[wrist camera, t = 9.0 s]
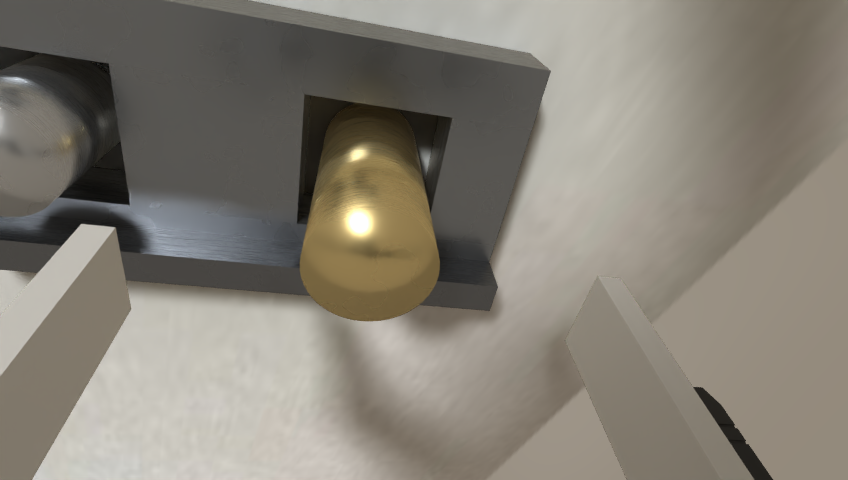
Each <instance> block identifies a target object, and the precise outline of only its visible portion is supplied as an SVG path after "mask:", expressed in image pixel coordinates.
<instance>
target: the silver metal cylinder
mask: <svg viewBox="0 0 848 480" xmlns="http://www.w3.org/2000/svg"><path fill="white" fill-rule="evenodd" d="M119 142H120V134H119V128H118V121H117V114H116V108H115V101H114V95H113V88H112V82H111V76H110V75H109V74H108V73H107V72H106V71H104V70H103V69H102V68H100V67H99V66H98V65H96V64H95V63H93V62H91V61H89V60H84V59H77V58H71V57H65V56H58V55H52V54H46V53H41V54H38V55H36V56H33V57H31V58H28V59H26V60H24V61H21V62H19V63H16V64H14V65H12V66H9V67H7V68H4V69H2V70H0V216H3V217H22V216H28V215H32V214H35V213H38V212H40V211H42V210H43V209H45V208H46V207H48V206H49V205H50V204H51V203H52V202H53V201H54V200H56V199H57V198H58V197H59V196H60V195H61V194H62V193H63V192H64V191H66V190H67V189H68V188H69V187H70V186H71V185H72V184H73V183H74V182H76V181H77V180H78V179H79V178H80V177H81V176H82V175H83V174H84V173H85V172H87V171H88V170H89V169H90V168H91V167H92V166H93V165H94V164H95V163H97V162H98V161H99V160H100V159H101V158H102V157H103V156H104V155H105V154H107V153H108V152H109V151H110V150H111V149H112V148H113V147H114V146H115V145H117V144H118V143H119Z"/></svg>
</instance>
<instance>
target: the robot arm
mask: <svg viewBox="0 0 848 480" xmlns="http://www.w3.org/2000/svg"><path fill="white" fill-rule="evenodd" d="M130 310H131V305H130V300H129V295H128V289H127V284H126V279H125V274H124V269H123V263H122V258H121V253H120V248H119V243H118V237H117V232H116V227H107V226H97V225H87V224H81V225H80V226H79V227H78V228H77V229H76V231H75V232H74V233H73V234H72V235H71V236H70V237H69V238H68V240H67V241H66V242H65V243H64V244H63V245H62V246H61V248H60V249H59V250H58V251H57V252H56V253H55V254H54V255H53V257H52V258H51V259H50V260H49V261H48V262H47V263H46V264H45V266H44V267H43V268H42V269H41V270H40V271H39V272H38V273H37V275H36V276H35V277H34V278H33V279H32V280H31V281H30V282H29V284H28V285H27V286H26V287H25V288H24V289H23V290H22V291H21V293H20V294H19V295H18V296H17V297H16V298H15V299H14V300H13V302H12V303H11V304H10V305H9V306H8V307H7V308H6V309H5V311H4V312H3V313H2V314H1V315H0V480H32V479H33V477H34V475H35V473H36V472H37V470H38V468H39V467H40V465H41V463H42V461H43V460H44V458H45V456H46V455H47V453H48V451H49V449H50V448H51V446H52V444H53V443H54V441H55V439H56V437H57V436H58V434H59V432H60V431H61V429H62V427H63V425H64V424H65V422H66V420H67V419H68V417H69V415H70V413H71V412H72V410H73V408H74V406H75V405H76V403H77V401H78V400H79V398H80V396H81V394H82V393H83V391H84V389H85V388H86V386H87V384H88V382H89V381H90V379H91V377H92V376H93V374H94V372H95V370H96V369H97V367H98V365H99V364H100V362H101V360H102V358H103V357H104V355H105V353H106V352H107V350H108V348H109V346H110V345H111V343H112V341H113V339H114V338H115V336H116V334H117V333H118V331H119V329H120V327H121V326H122V324H123V322H124V321H125V319H126V317H127V315H128V314H129V312H130ZM565 342H566V344H567V346H568V348H569V351H570V353H571V355H572V357H573V360H574V362H575V364H576V366H577V369H578V371H579V373H580V375H581V378H582V380H583V382H584V384H585V387H586V389H587V391H588V393H589V395H590V398H591V400H592V402H593V405H594V407H595V409H596V411H597V414H598V416H599V418H600V421H601V423H602V425H603V427H604V430H605V432H606V434H607V436H608V438H609V441H610V443H611V445H612V448H613V450H614V452H615V454H616V457H617V459H618V461H619V463H620V466H621V468H622V470H623V472H624V475H625V476H626V479H627V480H773V479H772V478H771V476H770V475H769V473H768V472H767V470H766V469H765V467H764V466H763V465H762V463H761V462H760V460H759V459H758V458H757V456H756V455H755V453H754V452H753V450H752V449H751V447H750V446H749V445H748V444H746V443H745V441H746V440H745V439H744V437H743V436H742V434H741V433H740V431H739V430H738V429H737V428H735V427H734V425H735V424H734V423H733V421H732V420H731V419H730V417H729V416H728V414H727V413H726V411H725V410H724V408H723V407H722V406H721V405H720V404H719V403H718V402H717V401H716V400H715V399H714V398H713V397H712V396H711V395H710V394H709V393H708V392H707V391H705V390H704V389H703V388H701V387H700V388H699V387H693V386H692V385H691V383H690V382H689V380H688V379H687V377H686V376H685V374H684V373H683V371H682V370H681V368H680V367H679V365H678V364H677V362H676V361H675V359H674V358H673V357H672V355H671V353H670V352H669V350H668V349H667V348H666V346H665V344H664V343H663V341H662V340H661V338H660V337H659V335H658V334H657V332H656V331H655V329H654V328H653V326H652V325H651V323H650V322H649V320H648V319H647V317H646V316H645V314H644V313H643V311H642V310H641V308H640V307H639V305H638V304H637V302H636V300H635V299H634V297H633V296H632V294H631V293H630V291H629V290H628V288H627V287H626V285H625V284H624V282H623V281H622V279H621V278H614V277H604V276H597V278H596V280H595V282H594V284H593V286H592V288H591V290H590V292H589V294H588V296H587V298H586V300H585V302H584V304H583V306H582V308H581V310H580V312H579V314H578V316H577V318H576V320H575V322H574V324H573V326H572V328H571V330H570V332H569V334H568V336H567V338H566V340H565Z"/></svg>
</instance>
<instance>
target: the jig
mask: <svg viewBox="0 0 848 480" xmlns="http://www.w3.org/2000/svg"><path fill="white" fill-rule="evenodd" d="M0 46H1V47H8V48H14V49H20V50H27V51H33V52H39V53H46V54H52V55H58V56H65V57H71V58H77V59H84V60H90V61H96V62H103V63H109V69H110V75H111V82H112V88H113V95H114V101H115V108H116V114H117V121H118V128H119V134H120V141H121V147H122V154H123V160H124V167H125V171H121V170H113V169H105V168H97V167H91V168H90V169H89V170H88V171H87V172H85V173H84V174H83V175H82V176H81V177H80V178H79V179H78V180H77V181H76V182H74V183H73V184H72V185H71V186H70V187H69V188H68V189H67V190H66V191H64V192H63V193H62V194H61V195H60V196H59V197H58V198H57V199H56V200H54V201H53V202H52V203H51V204H50V205H49V206H48V207H46V208H45V209H43V210H42V211H40V212H38V213H35V214H32V215H28V216H22V217H3V216H0V270H12V271H24V272H35V273H38V272H39V271H40V270H41V269H42V268H43V267H44V266H45V264H46V263H47V262H48V261H49V260H50V259H51V258H52V257H53V255H54V254H55V253H56V252H57V251H58V250H59V249H60V248H61V246H62V245H63V244H64V243H65V242H66V241H67V240H68V238H69V237H70V236H71V235H72V234H73V233H74V232H75V231H76V229H77V228H78V227H79V226H80V225H81V224H87V225H97V226H107V227H116V232H117V237H118V243H119V248H120V253H121V258H122V263H123V269H124V274H125V279H126V280H130V281H142V282H154V283H166V284H178V285H190V286H201V287H213V288H225V289H237V290H249V291H261V292H273V293H284V294H296V295H308V296H310V294H309V293H308V292H307V290H306V288H305V286H304V284H303V281H302V279H301V274H300V258H301V252H302V247H303V242H304V237H305V232H306V228H307V223H308V218H309V213H310V208H311V203H312V198H313V194H310V193H304V187H305V172H306V157H307V141H308V126H309V111H310V96H311V95H312V96H318V97H324V98H331V99H337V100H343V101H350V102H356V103H362V104H369V105H375V106H381V107H388V108H394V109H400V110H407V111H413V112H419V113H426V114H432V115H438V116H439V118H438V123H437V128H436V132H435V137H434V142H433V146H432V151H431V156H430V161H429V165H428V170H427V175H426V179H425V184H424V185H425V190H426V195H427V200H428V205H429V210H430V214H431V219H432V224H433V229H434V234H435V239H436V244H437V249H438V253H439V260H440V270H439V276H438V279H437V282H436V284H435V286H434V288H433V290H432V291H431V293H430V294H429V296H428V297H427V298H426V299H425V300H424V301H423V302H422V303H421V304H419V305H427V306H439V307H450V308H462V309H474V310H486V311H490V308H491V305H492V302H493V299H494V296H495V294H496V291H497V288H498V286H497V283H496V280H495V277H494V274H493V271H492V269H491V266H490V263H489V261H490V258H491V254H492V251H493V248H494V245H495V242H496V239H497V236H498V233H499V230H500V227H501V224H502V220H503V217H504V214H505V211H506V208H507V205H508V202H509V199H510V196H511V193H512V190H513V186H514V183H515V180H516V177H517V174H518V171H519V168H520V165H521V162H522V159H523V156H524V152H525V149H526V146H527V143H528V140H529V137H530V134H531V131H532V128H533V125H534V122H535V118H536V115H537V112H538V109H539V106H540V103H541V100H542V97H543V94H544V91H545V88H546V84H547V81H548V78H549V75H550V72H551V71H550V70H549V69H548V68H547V67H545V66H544V65H543V64H542V63H541V62H540V61H538V60H537V59H536V58H535V57H534V56H533V55H531V54H530V53H525V52H519V51H514V50H509V49H504V48H498V47H493V46H488V45H482V44H477V43H472V42H466V41H461V40H456V39H450V38H445V37H440V36H434V35H429V34H424V33H419V32H413V31H408V30H403V29H397V28H392V27H387V26H381V25H376V24H371V23H365V22H360V21H355V20H350V19H344V18H339V17H334V16H328V15H323V14H318V13H312V12H307V11H302V10H296V9H291V8H286V7H280V6H275V5H270V4H265V3H259V2H254V1H249V0H0Z"/></svg>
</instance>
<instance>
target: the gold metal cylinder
mask: <svg viewBox="0 0 848 480" xmlns="http://www.w3.org/2000/svg"><path fill="white" fill-rule="evenodd" d="M439 270H440V260H439V253H438V249H437V244H436V239H435V234H434V229H433V224H432V219H431V214H430V210H429V205H428V200H427V195H426V190H425V185H424V180H423V175H422V170H421V166H420V161H419V156H418V151H417V146H416V141H415V136H414V133H413V130H412V128H411V126H410V124H409V122H408V121H407V119H406V118H405V117H404V116H403V115H402V114H401V113H400V112H399V111H397V110H396V109H394V108H388V107H381V106H375V105H369V104H362V103H355V104H352V105H350V106H348V107H346V108H344V109H343V110H341V111H340V112H339V113H338V114H336V116H335V117H334V118H333V119H332V121H331V122H330V124H329V126H328V128H327V131H326V134H325V139H324V144H323V149H322V154H321V159H320V164H319V168H318V173H317V178H316V183H315V188H314V193H313V198H312V203H311V208H310V213H309V218H308V223H307V228H306V232H305V237H304V242H303V247H302V252H301V258H300V274H301V279H302V281H303V284H304V286H305V288H306V290H307V292H308V293H309V294H310V296H311V297H312V298H313V299H314V300H315V301H316V302H317V303H318V304H319V305H321V306H322V307H323V308H325V309H326V310H328V311H330V312H332V313H334V314H336V315H338V316H341V317H344V318H347V319H352V320H358V321H381V320H387V319H391V318H394V317H398V316H400V315H403V314H405V313H407V312H409V311H411V310H412V309H414V308H415V307H417V306H418V305H419V304H421V303H422V302H423V301H424V300H425V299H426V298H427V297H428V296H429V294H430V293H431V291H432V290H433V288H434V286H435V284H436V282H437V279H438V276H439Z"/></svg>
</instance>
